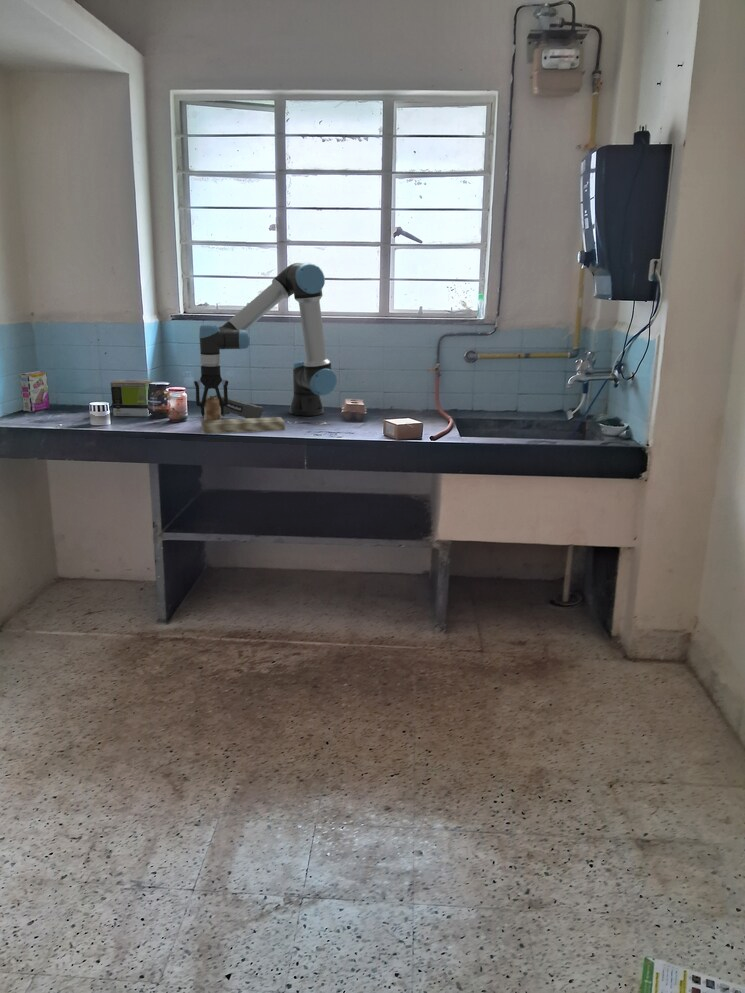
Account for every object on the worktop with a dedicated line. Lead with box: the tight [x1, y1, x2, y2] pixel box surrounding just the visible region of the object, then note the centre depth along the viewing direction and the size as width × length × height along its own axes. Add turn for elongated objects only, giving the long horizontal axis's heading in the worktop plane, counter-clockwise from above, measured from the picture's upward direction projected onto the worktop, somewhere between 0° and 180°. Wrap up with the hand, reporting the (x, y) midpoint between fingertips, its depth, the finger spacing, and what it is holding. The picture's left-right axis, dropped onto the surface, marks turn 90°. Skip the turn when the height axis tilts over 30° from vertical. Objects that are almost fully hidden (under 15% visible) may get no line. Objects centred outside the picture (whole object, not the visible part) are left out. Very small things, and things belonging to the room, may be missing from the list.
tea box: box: [110, 379, 153, 418], centre depth 314 cm, size 15×10×15 cm
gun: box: [201, 394, 264, 419], centre depth 312 cm, size 3×25×15 cm, turn 81°
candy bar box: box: [19, 370, 50, 413], centre depth 318 cm, size 11×5×16 cm, turn 162°
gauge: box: [205, 395, 220, 420], centre depth 291 cm, size 5×12×12 cm, turn 18°
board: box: [200, 416, 286, 435], centre depth 292 cm, size 32×9×4 cm, turn 108°
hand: (212, 422), depth 296 cm, fingers closed on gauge, 5 cm apart
